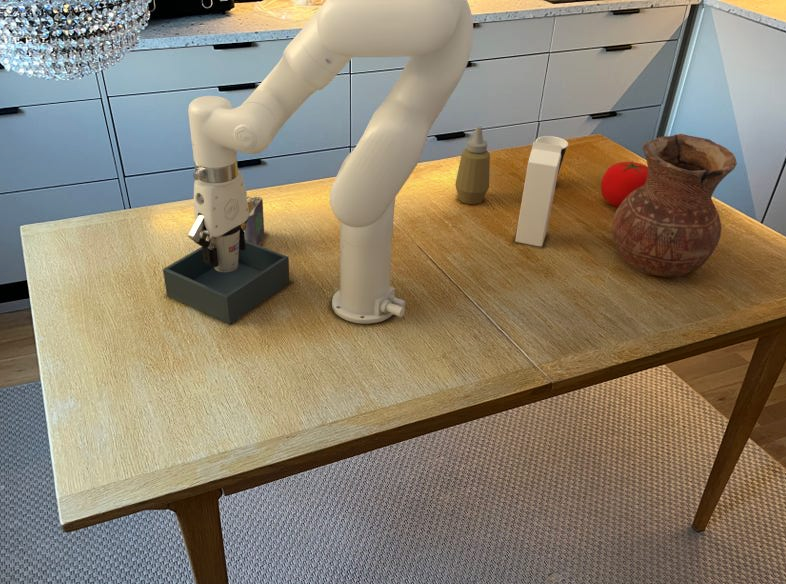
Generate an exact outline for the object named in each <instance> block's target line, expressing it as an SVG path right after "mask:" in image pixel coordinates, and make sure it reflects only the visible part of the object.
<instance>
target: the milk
mask: <svg viewBox="0 0 786 584" xmlns="http://www.w3.org/2000/svg"><path fill="white" fill-rule="evenodd" d="M561 149H562V147H561V146H558V145H552V144H545V143H539V142H535V141H533V143H532V146H531V150H530V155H529V158H528V160H527V161H528V162H527V167H526V173H525V179H524V186H523V192H522V197H521V204H520V208H519V216H518V220H517V221H518V222H517V226H516V227H517V228H516V234H515V239H514V241H515V243H520V244H523V245H529V246H535V247H543V245H544V242H545V239H546V237H547V234H548V233H547V232H548V227H549V223H550V218H551V212H552V206H553V201H554V196H555V190H556V185H557V181H558V177H557V176H559V173H558V170H559V165H560V160H561ZM559 171H560V170H559Z"/></svg>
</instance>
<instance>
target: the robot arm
mask: <svg viewBox="0 0 786 584" xmlns="http://www.w3.org/2000/svg"><path fill="white" fill-rule="evenodd" d="M473 19H474V18H473V15H472V11H471V7H470V3H469V2H468V0H324V2H323V3H322V5H321V6H320V7H319V9H317V10H316V12H315V13H314V14H313V16H312V17H310V19H309V20H308V21H307V22H306V23H305V25H304V26H303V27H302V28H301V29H300V31H298V33H297V34H296V35H295V36H294V37H293V39H292V40H291V41H289V43H288V44H287V45H286V47H285V49H284V50H283V53H282V56H281V58H280V60H279V61H278V63H276V65H275V66H274V67H273V68H272V70H271V71H270V72H269V73H268V74H267V75H266V77H265V78H264V79H263V80H262V81H261V83H260V84H259V85H258V86H257V87H256V88H255V89H254V90H253V92H252V93H250V95H249V96H248V97H247V98H246V99H245V100H244V101H243V102H242V103H241V104H240V105H239V106H236V107H234V108H233V105H232V103H231V102H230V101H229V100H228V99H227V98H225V97H223V96H217V95H202V96H199V97H196V98H194V99H192V100H191V102H190V103H189V105H188V109H187V112H188V113H187V114H188V121H189V122H188V123H189V130H190V139H191V147H192V156H193V165H194V172H193V173H192V178H193V179H194V184H193V214H194V223H193V225H192V227H191V229H190V231H189V233H188V235H187V237H188V238H189V239H190V240H192V241H193V242H194V243H195V244H197V245H198V246H200V247H202V250H203V259H204V262H205V263H206V264H208V265H211V266H213V267H217V266H218V256H217V249H216V248H215V247H214V244H215V240H216V237H219V236H221V235H223V234H225V233H226V232H228V231H230V230H232V229H233V228H235V227H237V226H239V225H241V228H240V235H239V249H240V250H245V249H246V246H245V230H246V228H247V226H246V223H247V221H248V219H249V214H250V211H251V209H252V206H253V205H252V204H251V203H249V202H248V199H247V197H248V194H247V189H246V184H245V181H244V177H243V174H242V172H241V170H239V167H238V153H237V152H239V153H243V154H247V155H257V154H260V153H262V152H264V151H265V150H266V149H267V148H268V147H269V146H270V144H271V143H272V141H273V140H274V138H275V137H276V135H277V134H278V133H279V132H280V130H281V129H282V128H283V126H285V124H286V123H287V122H288V120H290V118H291V117H292V116H293V115H294V114H295V113H296V112H297V111H298V110H299V108H301V106H302V105H303V104H304V103H305V102H306V101H307V100H308V99H309V98H310V97H311V96H312V95H313V94H314V93H315V92H317V91H322V90H324V89H325V88H326V87H327V86H328V85H329V84H330V83H331V82H332V81H333V80H334V78H336V76H338V74H339V73H341V71H342V70H343V69H344V68H345V66H347V64H348V63H350V61H351V60H352V59H353V58H395V57H397V58H399V57H401V58H402V57H409V59H408V60H407V61H406V63H405V65H404V67H403V69H402V71H401V73H400V75H399V76H398V78H397V80H396V81H395V83H394V85H393V86H392V88H391V89H390V90H389V92H388V94H387V95H386V97H385V98H384V100H383V101H382V103H381V104H380V105H379V106H378V107H377V109H376V110H375V111H374V113H373V114H372V116H371V118H370V120H369V122H368V124H367V126H366V128H365V129H364V132H363V134H362V135H361V137H360V139H359V140H358V142H357V144H356V146H355V147H354V149H353V150H351V151H350V152H349V153H348V155H347V156H346V157H345V159H344V160H343V162H342V163H341V166H340V168H339V170H338V172H337V174H336V177H335V178H334V180H333V182H332V184H331V186H330V191H329V205H330V207H331V208H330V209H331V211H332V213H333V215H334V217H335V218H337V220H338V221H339V222H340V223H339V289H338V290H337V291H336V292H335V293H334V294H333V296H332V298H331V308H332V310H333V312H334V313H335V314H336V315H337V316H338V317H340V318H341V319H343V320H345V321H348V322H350V323H355V324H362V325H363V324H364V325H365V324H366V325H367V324H369V325H370V324H376V323H381V322H383V321H385V320H386V321H387V320H388V319H389V318H391V317H392V316H393V315H394V316H395V317H399V318H403V316H404V315H405V311H406V309H405V306H406V303H407V302H406V300H403V299H402V298H398V297H397V296H396V295H395V294H396V293H395V292H396V288H395V287H394V286H391V274H392V273H391V270H392V252H393V250H392V249H393V236H394V235H393V234H394V221H395V219H394V216H395V207H396V206H395V205H396V197H397V195H398V194H399V193H400V191H402V188H403V187H404V185H405V184H406V183H407V181H408V180H409V178H410V177H411V175H412V174H413V172H414V171H415V169H416V167H417V165H418V163H419V161H420V159H421V157H422V155H423V152H424V150H425V146H426V142H427V139H428V136H429V134H430V131H431V129H432V127H433V125H434V123H435V122H436V120H437V119H438V117H439V116H440V114H441V112H443V109H444V108H445V106H446V104H447V102H448V101H449V99H450V97H451V96H452V94H453V93H454V91H455V90H456V88H457V87H458V84H459V82H460V81H461V79H462V77H463V76H464V73H465V71H466V68H467V66H468V63H469V60H470V57H471V54H472V50H473V49H472V48H473V41H474V22H473ZM206 229H207V230H206ZM207 234H208V235H210V238H209V242H208V240H207Z"/></svg>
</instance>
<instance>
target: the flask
mask: <svg viewBox="0 0 786 584" xmlns="http://www.w3.org/2000/svg"><path fill="white" fill-rule="evenodd" d="M247 200H248V202H249V203H251V204H252V205H253V206H252V209H251V211H250V214H249V219H248V221H247V223H246V226H247V228H246V230H245V231H244V233H245V240H246V241H249V242H252V243H254V244H257V245H259V246H261V242H263V239H264V237H265V236H266V234H265V220H264V201H263V197H261V196H254V197H252V196H251V197H250V196H247Z"/></svg>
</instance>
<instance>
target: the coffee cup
mask: <svg viewBox="0 0 786 584" xmlns="http://www.w3.org/2000/svg"><path fill="white" fill-rule="evenodd" d="M240 228H241V225H239V226H237V227H235V228H233V229H232V230H230V231H228V232H226V233H225V234H223V235H221V236H219V237H216V240H215V244H214V247H215V248H216V249H217V256H218V266H217V267H214V268H215V269H216V270H217V271H219V272H231V271H234V270H236V269H237V267H238V256H239V235H240ZM206 230H207V229H206ZM209 238H210V235H208V234H207V237H206V240H207V241H208V242H209Z"/></svg>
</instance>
